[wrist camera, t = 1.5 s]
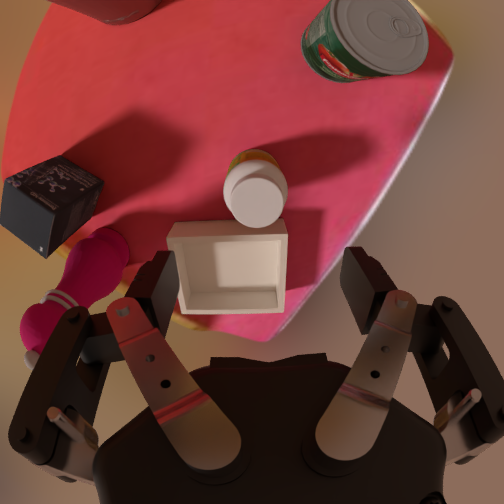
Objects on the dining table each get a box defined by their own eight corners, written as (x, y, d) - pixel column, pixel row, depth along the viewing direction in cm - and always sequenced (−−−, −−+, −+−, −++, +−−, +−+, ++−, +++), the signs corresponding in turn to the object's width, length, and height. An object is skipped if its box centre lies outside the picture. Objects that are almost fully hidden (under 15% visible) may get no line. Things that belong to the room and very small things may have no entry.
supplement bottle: (234, 143, 27) (228, 160, 18) (285, 155, 27) (302, 177, 19) (223, 191, 29) (214, 229, 21) (272, 201, 30) (282, 242, 22)
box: (106, 180, 28) (55, 215, 19) (92, 218, 30) (46, 262, 21) (60, 153, 26) (2, 178, 17) (49, 191, 28) (-3, 225, 19)
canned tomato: (312, 88, 24) (349, 78, 14) (290, 22, 20) (314, -20, 10) (379, 79, 23) (439, 75, 13) (360, 17, 19) (410, -14, 10)
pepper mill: (79, 227, 31) (-14, 332, 14) (124, 219, 31) (29, 340, 13) (97, 273, 34) (28, 386, 17) (140, 270, 34) (78, 399, 17)
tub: (174, 222, 31) (166, 237, 28) (283, 218, 31) (288, 234, 28) (187, 293, 36) (181, 313, 33) (280, 292, 36) (283, 312, 33)
